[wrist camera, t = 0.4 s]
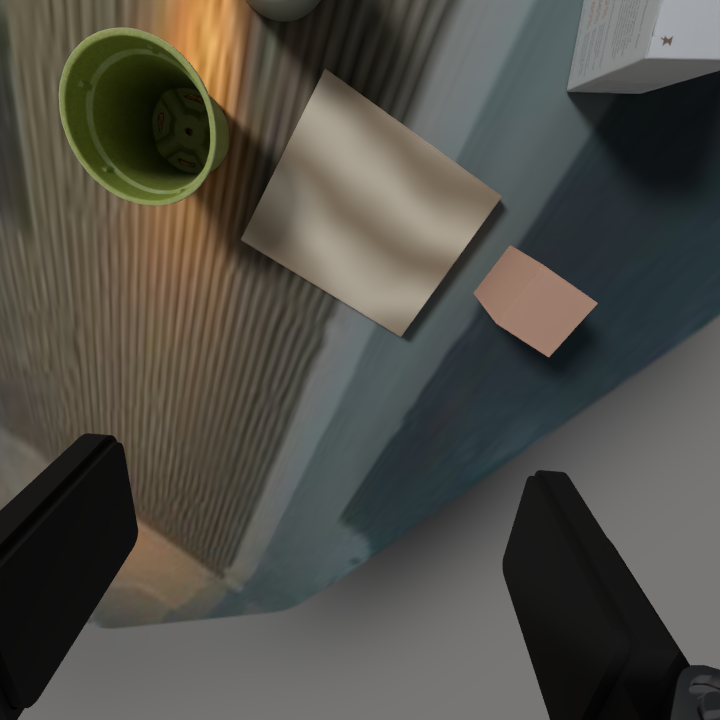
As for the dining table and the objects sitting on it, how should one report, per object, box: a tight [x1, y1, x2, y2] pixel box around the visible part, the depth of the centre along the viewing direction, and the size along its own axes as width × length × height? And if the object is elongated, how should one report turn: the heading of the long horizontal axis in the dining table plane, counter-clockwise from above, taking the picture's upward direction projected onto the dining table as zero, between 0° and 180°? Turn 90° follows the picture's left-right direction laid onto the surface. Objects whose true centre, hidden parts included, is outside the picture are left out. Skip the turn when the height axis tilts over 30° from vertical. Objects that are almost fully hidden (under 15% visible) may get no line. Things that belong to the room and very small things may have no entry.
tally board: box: [241, 69, 502, 337], centre depth 35 cm, size 14×16×2 cm
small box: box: [567, 0, 720, 94], centre depth 26 cm, size 8×6×10 cm
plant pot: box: [59, 28, 230, 206], centre depth 30 cm, size 9×9×9 cm
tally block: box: [473, 245, 598, 357], centre depth 34 cm, size 5×5×8 cm
